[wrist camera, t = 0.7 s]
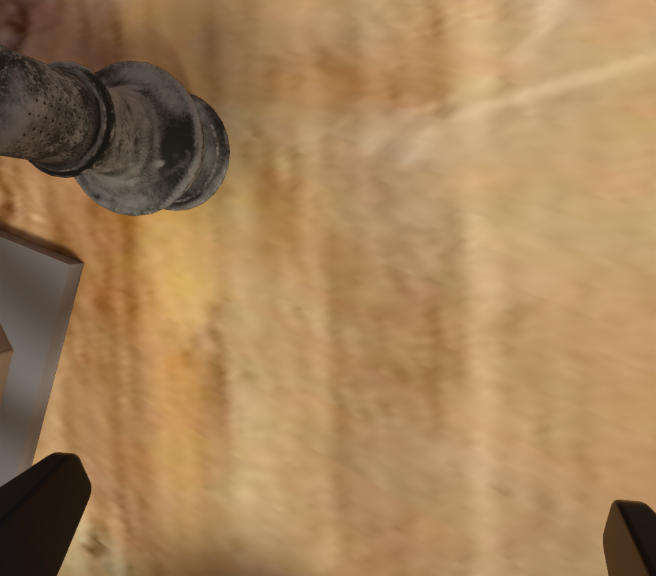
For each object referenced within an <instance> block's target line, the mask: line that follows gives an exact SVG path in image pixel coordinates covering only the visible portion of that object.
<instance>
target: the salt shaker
mask: <svg viewBox="0 0 656 576" xmlns="http://www.w3.org/2000/svg"><path fill="white" fill-rule="evenodd" d="M0 155H1V156H7V157H13V158H20V159H26V160H29V162H30V163H32V164H33V165H34V166H35V167H36V168H38V169H39V170H40V171H42V172H44V173H47V174H49V175H51V176H56V177H64V178H69V177H74V178H75V179H76V181H77V182H78V183H79V185H80V186H81V188H82V189H83V190H84V192H85V193H86V194H87V195H88V196H89V197H90V198H91V199H93V200H94V201H95V202H96V203H97V204H98V205H100V206H102V207H104V208H106V209H108V210H110V211H112V212H114V213H118V214H124V215H130V216H139V215H147V214H153V213H155V212H157V211H160V210H162V209H166V210H173V211H179V210H187V209H191V208H194V207H196V206H198V205H200V204H203V203H204V202H205V201H206V200H208V199H209V198H210V197H211V196H212V195H214V193H215V192H216V191H217V189H218V188H219V186H220V185H221V184H222V182H223V179H224V177H225V174H226V172H227V169H228V163H229V155H230V150H229V141H228V135H227V133H226V130H225V128H224V125H223V122H222V121H221V119H220V118H219V116H218V115H217V114H216V112H215V111H214V109H213V108H211V107H210V106H209V105H208V104H206V103H205V102H204V101H203V100H201V99H199V98H197V97H195V96H192V95H190V94H188V92H187V91H186V89H185V88H184V87H183V85H182V84H181V83H180V82H179V81H178V80H177V79H175V78H174V77H173V76H172V75H170V74H169V73H168V72H167V71H165V70H163V69H161V68H159V67H156V66H154V65H152V64H149V63H145V62H136V61H125V62H120V63H115V64H111V65H109V66H107V67H105V68H103V69H101V70H100V71H98V72H96V73H93V72H92V71H91V70H90V69H88V68H86V67H84V66H81V65H79V64H77V63H74V62H65V61H58V62H54V63H49V64H45V63H42V62H40V61H37V60H35V59H33V58H30V57H28V56H25V55H23V54H21V53H18V52H16V51H14V50H11V49H9V48H6V47H4V46H2V45H0Z"/></svg>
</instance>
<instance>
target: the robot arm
mask: <svg viewBox="0 0 656 576" xmlns="http://www.w3.org/2000/svg"><path fill="white" fill-rule="evenodd" d="M90 494H91V482H90V480H89V478H88V475H87V473H86V471H85V469H84V467H83V465H82V462H81V460H80V458H79V457H78V456H77V455H76V454H73V453H61V452H57V453H53V454H50V455H49V456H47V457H45V458H44V459H42V460H41V461H39V462H38V463H36V464H35V465H33V466H32V467H30V468H29V469H27V470H25V471H24V472H22V473H21V474H19V475H18V476H16V477H15V478H13V479H12V480H10V481H9V482H7V483H5V484H4V485H2V486H1V487H0V576H57V574H58V572H59V570H60V568H61V565H62V563H63V560H64V558H65V556H66V553H67V551H68V548H69V546H70V544H71V541H72V539H73V536H74V534H75V532H76V529H77V527H78V524H79V522H80V520H81V517H82V515H83V512H84V510H85V508H86V505H87V503H88V500H89V498H90ZM603 548H604V554H605V559H606V564H607V570H608V575H609V576H656V513H655V512H654V511H653V510H652V509H651V508H650V507H649V506H648V505H647V504H645V503H643V502H640V501H629V500H615V501H614V502H613V503H612V505H611V508H610V512H609V515H608V519H607V522H606V526H605V529H604V533H603Z"/></svg>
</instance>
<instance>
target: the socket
mask: <svg viewBox="0 0 656 576" xmlns="http://www.w3.org/2000/svg"><path fill="white" fill-rule="evenodd" d="M83 264H84V263H82V262H79V261H77V260H74V259H72V258H69V257H67V256H64V255H62V254H60V253H57V252H55V251H52V250H50V249H47V248H45V247H42V246H40V245H37V244H35V243H32V242H30V241H27V240H25V239H22V238H20V237H17V236H15V235H12V234H10V233H7V232H5V231H2V230H0V487H1V486H2V485H4V484H5V483H7V482H9V481H10V480H12V479H13V478H15V477H16V476H18V475H19V474H21V473H22V472H24V471H25V470H27V469H29V468H30V467H31V466H32V462H33V458H34V454H35V450H36V446H37V443H38V439H39V435H40V431H41V427H42V423H43V419H44V415H45V412H46V408H47V404H48V400H49V396H50V392H51V388H52V384H53V381H54V377H55V373H56V369H57V365H58V361H59V357H60V353H61V350H62V346H63V342H64V338H65V334H66V330H67V326H68V322H69V319H70V315H71V311H72V307H73V303H74V299H75V295H76V291H77V288H78V284H79V280H80V276H81V272H82V268H83Z"/></svg>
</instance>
